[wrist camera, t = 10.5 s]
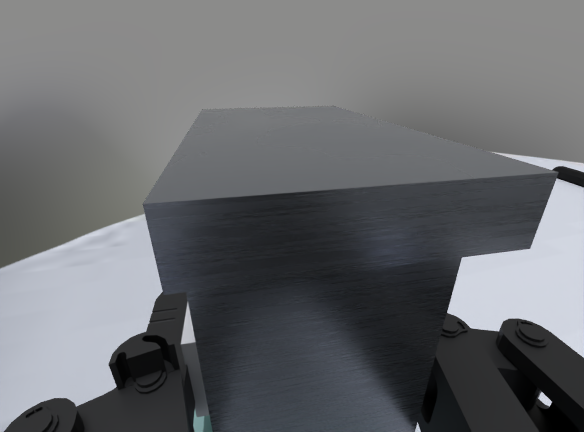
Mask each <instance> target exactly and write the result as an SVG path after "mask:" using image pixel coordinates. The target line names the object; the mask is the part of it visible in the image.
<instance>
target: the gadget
mask: <svg viewBox="0 0 584 432" xmlns="http://www.w3.org/2000/svg"><path fill="white" fill-rule="evenodd" d="M553 171H556V172H559V173H558V175H557V178H559V179H562V180H565V181H568V182H571V183H574V184H577V185H580V186H583V187H584V172H581V171H577V170H574V169H570V168H567V167H564V166H558V167H555V168H554V169H553Z"/></svg>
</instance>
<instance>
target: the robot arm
mask: <svg viewBox="0 0 584 432" xmlns="http://www.w3.org/2000/svg"><path fill="white" fill-rule="evenodd" d="M152 312H153V313H152V314H151V318H150V321H149V322H150V323H149V324H148V328H147V331H146V332H144V333H141V334H138V335H136V336H133V337H131V338H130V339H128V340H127V341H125V342H124V343H123V344H121V345H120V346H119V347H118V348H117V350H116V351H115V352H114V353H113V354H112V357H111V359H110V362H109V367H110V369H111V372H112V375H113V377H114V380H115V383H116V385H117V387H116V388H115V389H113V390H112V391H110V392H108V393H106V394H104V395H102V396H100V397H97V398H95V399H93V400H91V401H88V402H86V403H84V404H81V405H79V406H77V407H76V406H75V404H74V403H73V402H72V401H70V400H68V399H67V398H54V399H51V400H47V401H44V402H41V403H39V404H37V405H35V406H34V407H32V408H30V409H28V410H26V411H25V412H24V413H22V414H21V415H20V416H19V417H18V418H16V419H15V420H14V421H13V422H11V424H10V425H9V426H8V427H7V429H6V430H5V431H4V432H195V431H194V427H193V422H194V411H196V416H197V417H202V416H208V415H209V410H208V405H207V400H206V394H205V389H204V384H203V378H202V373H201V368H200V363H199V357H198V352H197V347H196V342H195V336H194V331H193V326H192V321H191V315H190V310H189V305H188V300H187V294H186V292H183V293H175V294H167V295H164V294H163V292H162V293H161V294H160V296H159V297H158V298H157V299H156V301H155V305H154V308H153V311H152ZM541 391H542V392H543V393H544V394H545V395H546V396H547V397H548V398H549V399H550V400H551V401H552V404H551V405H550V407H549V406H547V405H545V404H544V403H542V402H541V401H540V400H539V399H538V397H539V395H540V393H541ZM418 424H419V427H420V430H421V432H584V358H583V357H582V356H580V355H579V354H578V353H577V352H575V351H574V350H573V349H571V348H570V347H569V346H568V345H566V344H565V343H564V342H563V341H561V340H560V339H559V338H557V337H556V336H555V335H554V334H552V333H551V332H549V331H548V330H546V329H545V328H543V327H542V326H540V325H537V324H535V323H533V322H530V321H527V320H522V319H508V320H506V321H503V323H502V326H501V328H500V331H499V332H498V331H488V330H479V329H471V328H470V327H469V326H468V325H467V324H466V323H465V322H464V321H462V320H461V319H459V318H458V317H456V316H454V315H451V314H448V313H447V314H446V318H445V321H444V325H443V329H442V333H441V336H440V340H439V344H438V347H437V351H436V355H435V359H434V362H433V366H432V370H431V373H430V377H429V381H428V384H427V388H426V392H425V396H424V399H423V403H422V407H421V410H420V414H419V418H418Z"/></svg>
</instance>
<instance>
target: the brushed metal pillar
mask: <svg viewBox="0 0 584 432" xmlns="http://www.w3.org/2000/svg"><path fill="white" fill-rule="evenodd" d="M558 173H559V172H556V171H553V170H549V169H546V168H542V167H539V166H536V165H532V164H529V163H525V162H522V161H519V160H515V159H512V158H508V157H505V156H502V155H498V154H495V153H492V152H488V151H484V150H481V149H478V148H475V147H471V146H468V145H464V144H461V143H458V142H454V141H451V140H447V139H444V138H441V137H437V136H434V135H430V134H427V133H424V132H420V131H417V130H413V129H410V128H406V127H403V126H400V125H396V124H393V123H390V122H386V121H383V120H379V119H376V118H372V117H369V116H366V115H362V114H359V113H355V112H352V111H349V110H346V109H342V108H339V107H335V106H315V107H314V106H313V107H278V108H277V107H275V108H237V109H202V111H201V112H200V114H199V115H198V117H197V119H196V120H195V122H194V123H193V125H192V126H191V128H190V130H189V131H188V133H187V134H186V136H185V138H184V139H183V141H182V142H181V144H180V145H179V147H178V149H177V150H176V152H175V153H174V155H173V157H172V158H171V160H170V162H169V163H168V165H167V166H166V168H165V169H164V171H163V173H162V174H161V176H160V177H159V179H158V181H157V182H156V184H155V185H154V187H153V189H152V190H151V192H150V193H149V195H148V196H147V198H146V200H145V201H144V203H143V207H144V212H145V216H146V220H147V225H148V229H149V233H150V238H151V242H152V246H153V251H154V255H155V259H156V264H157V268H158V273H159V277H160V281H161V286H162V290H163V294H164V295H167V294H175V293H183V292H186V294H187V300H188V305H189V310H190V315H191V321H192V326H193V331H194V336H195V342H196V347H197V352H198V357H199V363H200V368H201V373H202V378H203V384H204V389H205V394H206V400H207V405H208V410H209V415H210V421H211V426H212V431H213V432H415V429H416V425H417V422H418V418H419V414H420V410H421V407H422V403H423V399H424V396H425V392H426V388H427V384H428V381H429V377H430V373H431V370H432V366H433V362H434V359H435V355H436V351H437V347H438V344H439V340H440V336H441V333H442V329H443V325H444V321H445V318H446V314H447V310H448V307H449V303H450V299H451V295H452V292H453V288H454V284H455V281H456V277H457V273H458V270H459V266H460V262H461V258H462V257H468V256H476V255H484V254H492V253H499V252H507V251H515V250H523V249H530V247H531V245H532V242H533V239H534V237H535V234H536V231H537V229H538V226H539V223H540V221H541V218H542V215H543V213H544V210H545V207H546V205H547V202H548V199H549V197H550V194H551V191H552V189H553V186H554V183H555V181H556V178H557V175H558Z"/></svg>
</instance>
